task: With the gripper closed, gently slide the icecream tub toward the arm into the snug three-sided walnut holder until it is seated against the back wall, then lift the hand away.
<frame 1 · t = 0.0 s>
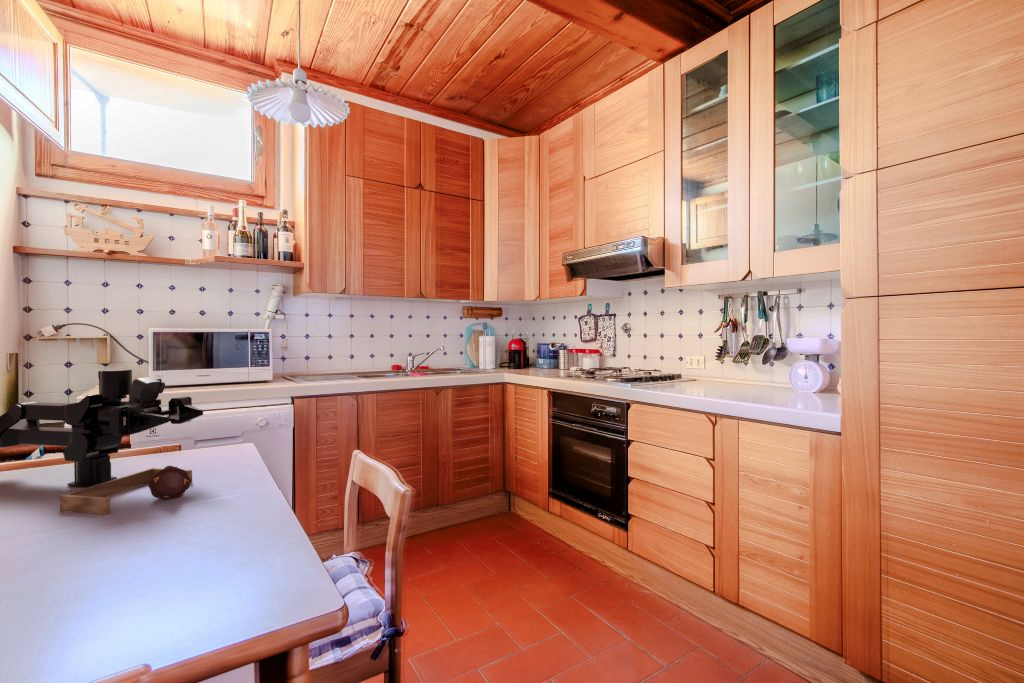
hand: (186, 416, 109), 17 cm above the table, tool horizontal, fingers open, 9 cm apart
icecream: (170, 499, 103), on the table
holder: (133, 495, 104), on the table
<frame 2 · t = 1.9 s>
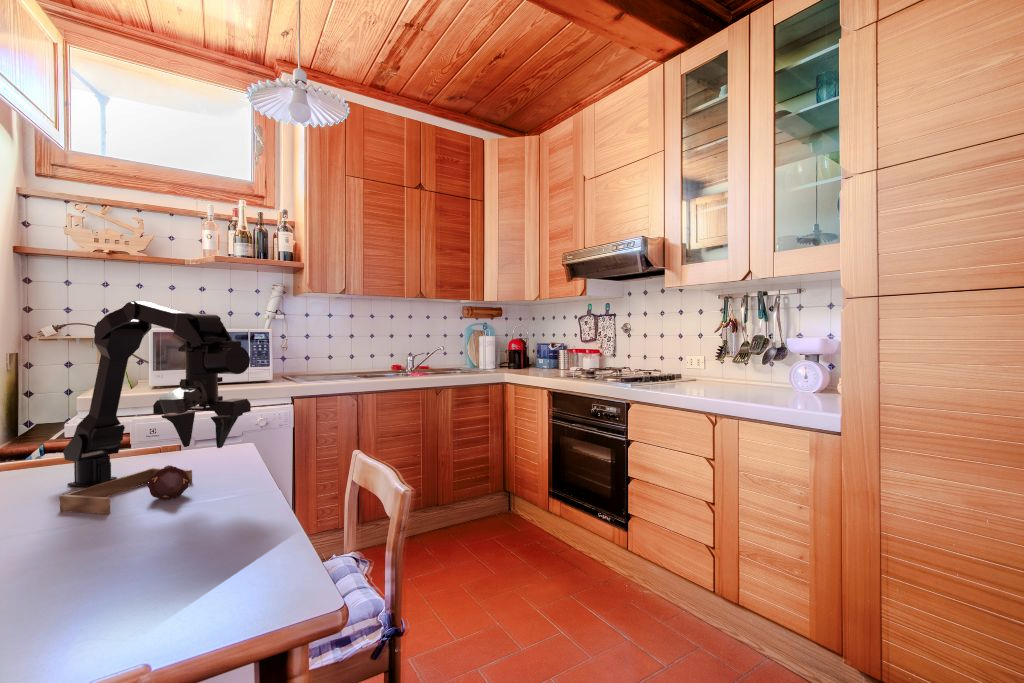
hand: (203, 447, 101), 11 cm above the table, tool pointing down, fingers open, 8 cm apart
nothing on the table moved.
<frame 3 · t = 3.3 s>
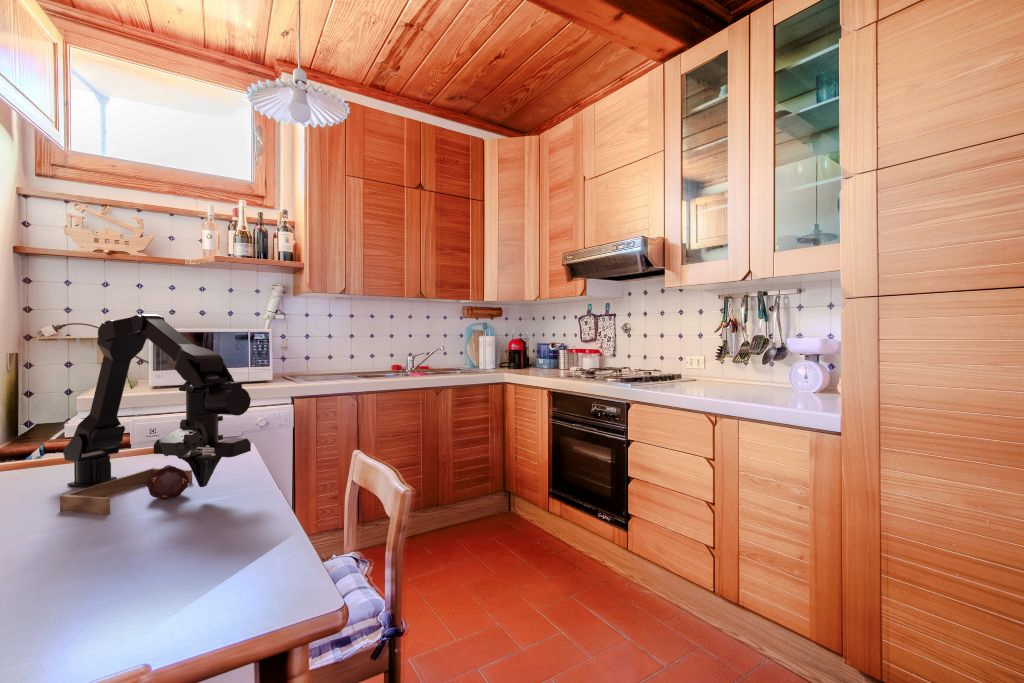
hand: (203, 486, 102), 3 cm above the table, tool pointing down, fingers closed
nothing on the table moved.
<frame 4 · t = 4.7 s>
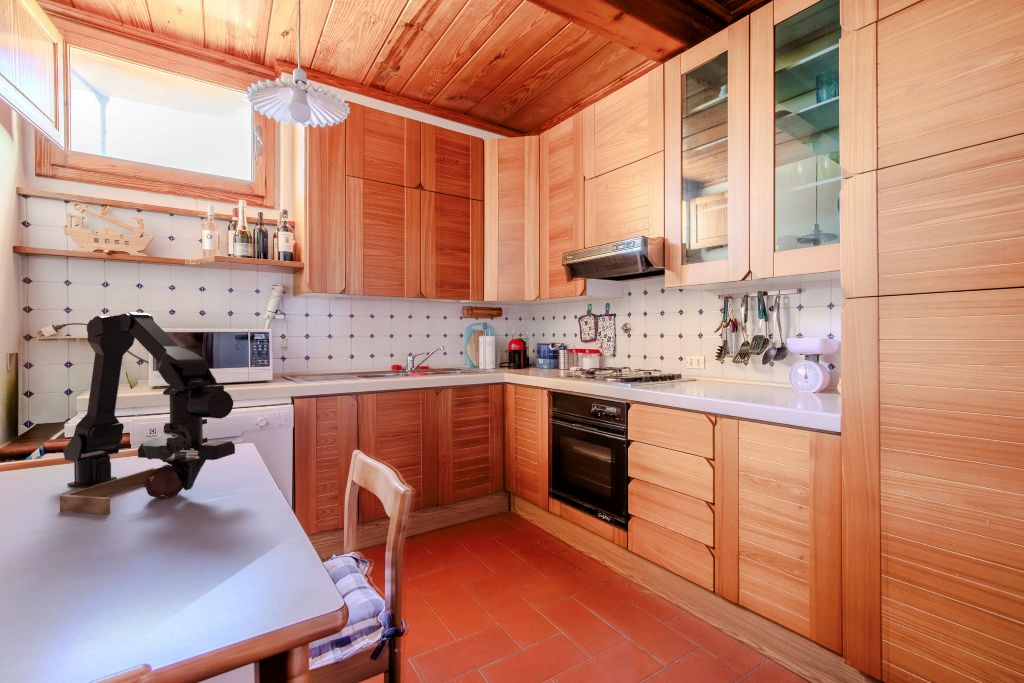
hand: (187, 489, 102), 2 cm above the table, tool pointing down, fingers closed
icecream: (166, 498, 103), on the table, touching gripper
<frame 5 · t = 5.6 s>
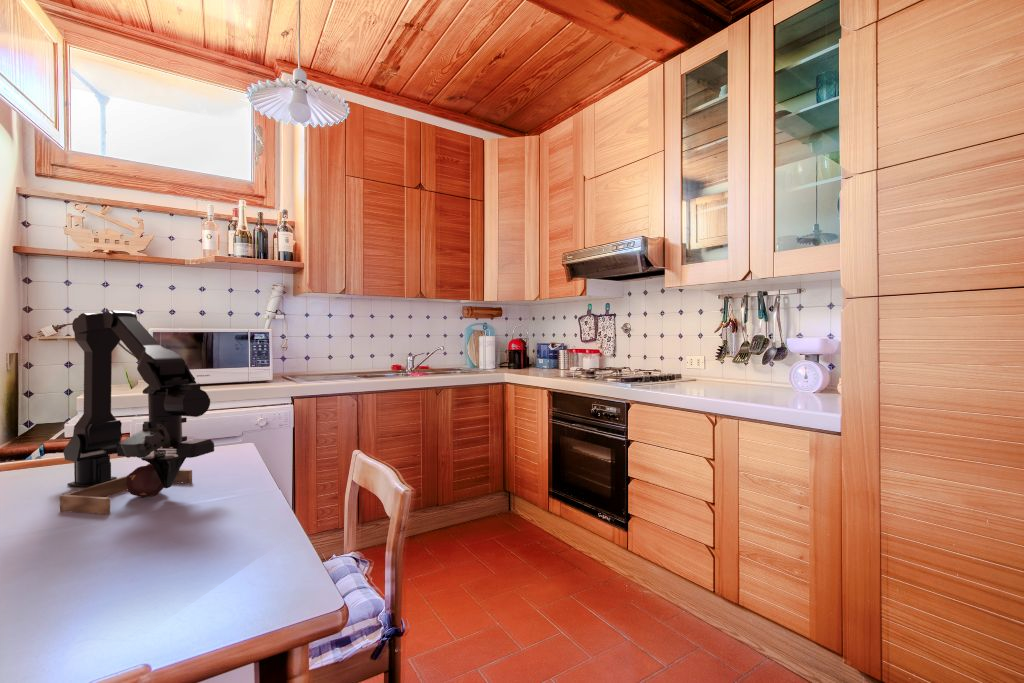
hand: (167, 487, 103), 2 cm above the table, tool pointing down, fingers closed
icecream: (148, 496, 104), on the table, touching gripper
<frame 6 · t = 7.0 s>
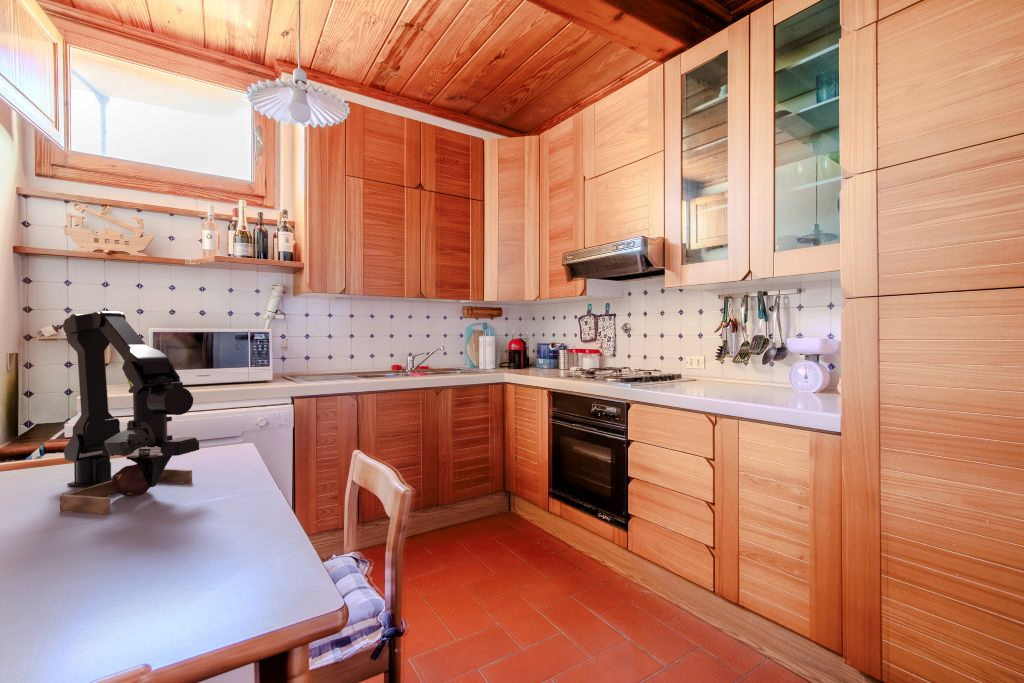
hand: (152, 486, 103), 2 cm above the table, tool pointing down, fingers closed
icecream: (135, 496, 104), on the table, touching gripper, holder
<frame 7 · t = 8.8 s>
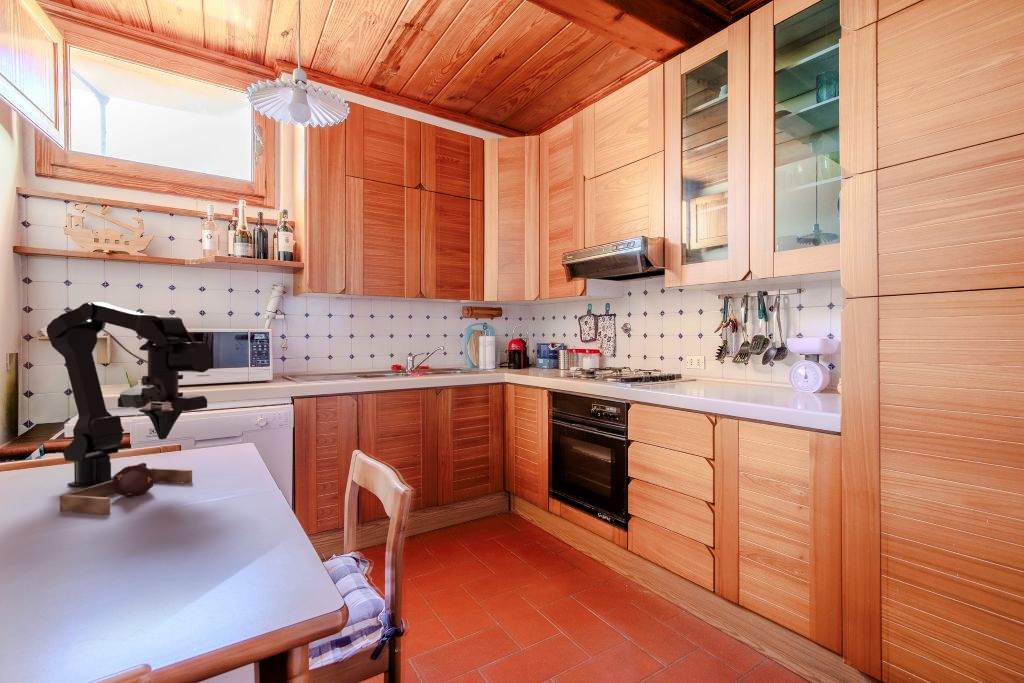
hand: (162, 439, 110), 11 cm above the table, tool pointing down, fingers closed
icecream: (134, 496, 104), on the table
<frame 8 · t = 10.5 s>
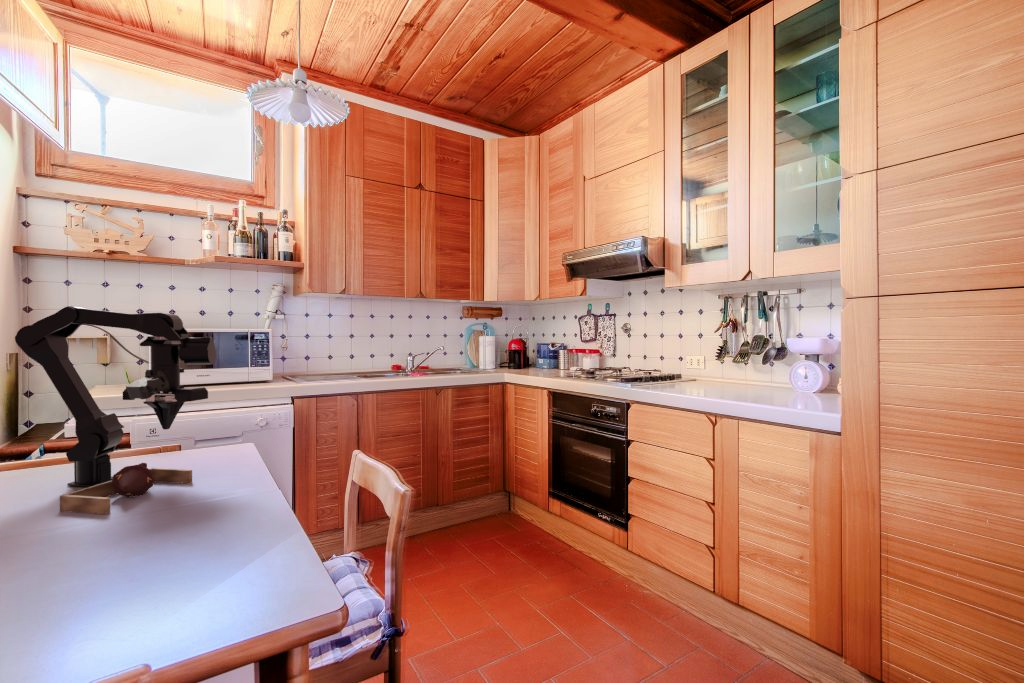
hand: (166, 429, 117), 12 cm above the table, tool pointing down, fingers closed
nothing on the table moved.
at the end: icecream 0.3 cm off-centre on the holder, point 0.0 cm above the holder's base; icecream tilted 0°; the gripper is holding nothing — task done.
